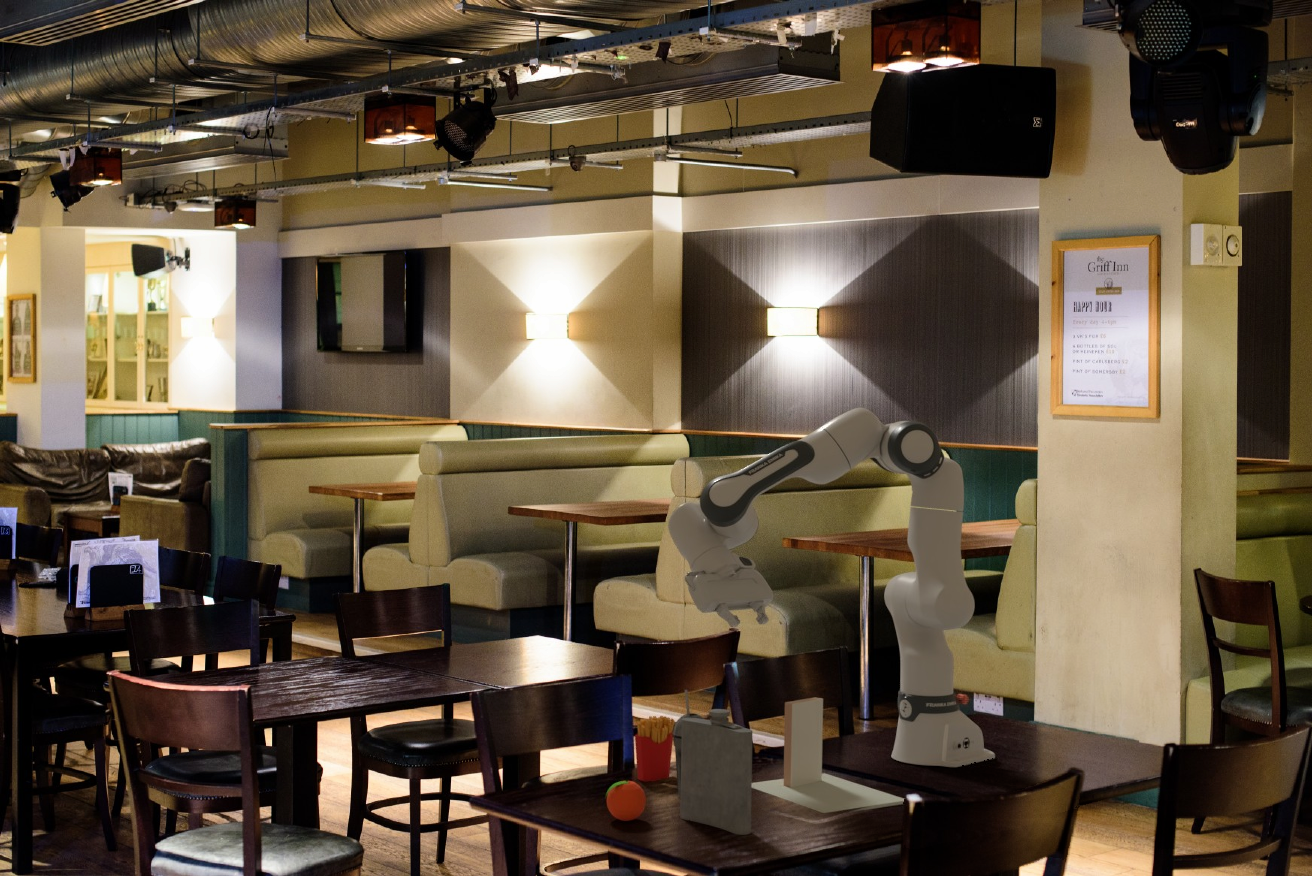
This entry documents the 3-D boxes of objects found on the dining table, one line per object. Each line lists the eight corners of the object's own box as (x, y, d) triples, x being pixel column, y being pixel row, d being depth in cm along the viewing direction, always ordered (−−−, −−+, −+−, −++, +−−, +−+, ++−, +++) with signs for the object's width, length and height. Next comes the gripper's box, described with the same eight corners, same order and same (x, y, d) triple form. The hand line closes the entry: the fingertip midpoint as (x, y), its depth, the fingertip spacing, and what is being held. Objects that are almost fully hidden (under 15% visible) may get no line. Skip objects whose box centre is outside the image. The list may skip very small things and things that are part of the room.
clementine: (616, 828, 264) (616, 786, 264) (593, 819, 270) (594, 779, 270) (653, 821, 269) (654, 781, 269) (630, 813, 275) (631, 773, 275)
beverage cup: (706, 802, 284) (708, 694, 283) (667, 799, 285) (669, 692, 285) (712, 793, 291) (714, 687, 291) (675, 790, 292) (676, 686, 292)
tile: (783, 785, 296) (784, 702, 295) (813, 778, 302) (815, 697, 302) (791, 787, 294) (792, 703, 294) (821, 780, 300) (823, 698, 300)
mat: (824, 776, 307) (824, 773, 307) (908, 803, 285) (908, 799, 285) (742, 787, 296) (742, 784, 296) (823, 816, 275) (823, 812, 275)
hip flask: (676, 817, 272) (678, 704, 272) (693, 813, 275) (694, 702, 275) (741, 835, 261) (743, 718, 261) (758, 831, 264) (760, 715, 264)
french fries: (642, 782, 298) (643, 721, 298) (631, 778, 302) (632, 717, 302) (677, 777, 303) (678, 716, 303) (665, 773, 307) (666, 713, 306)
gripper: (689, 562, 306) (723, 617, 299) (758, 559, 321) (792, 611, 314) (672, 583, 309) (706, 637, 302) (741, 578, 324) (774, 630, 317)
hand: (750, 623), depth 308 cm, fingers open, 7 cm apart
